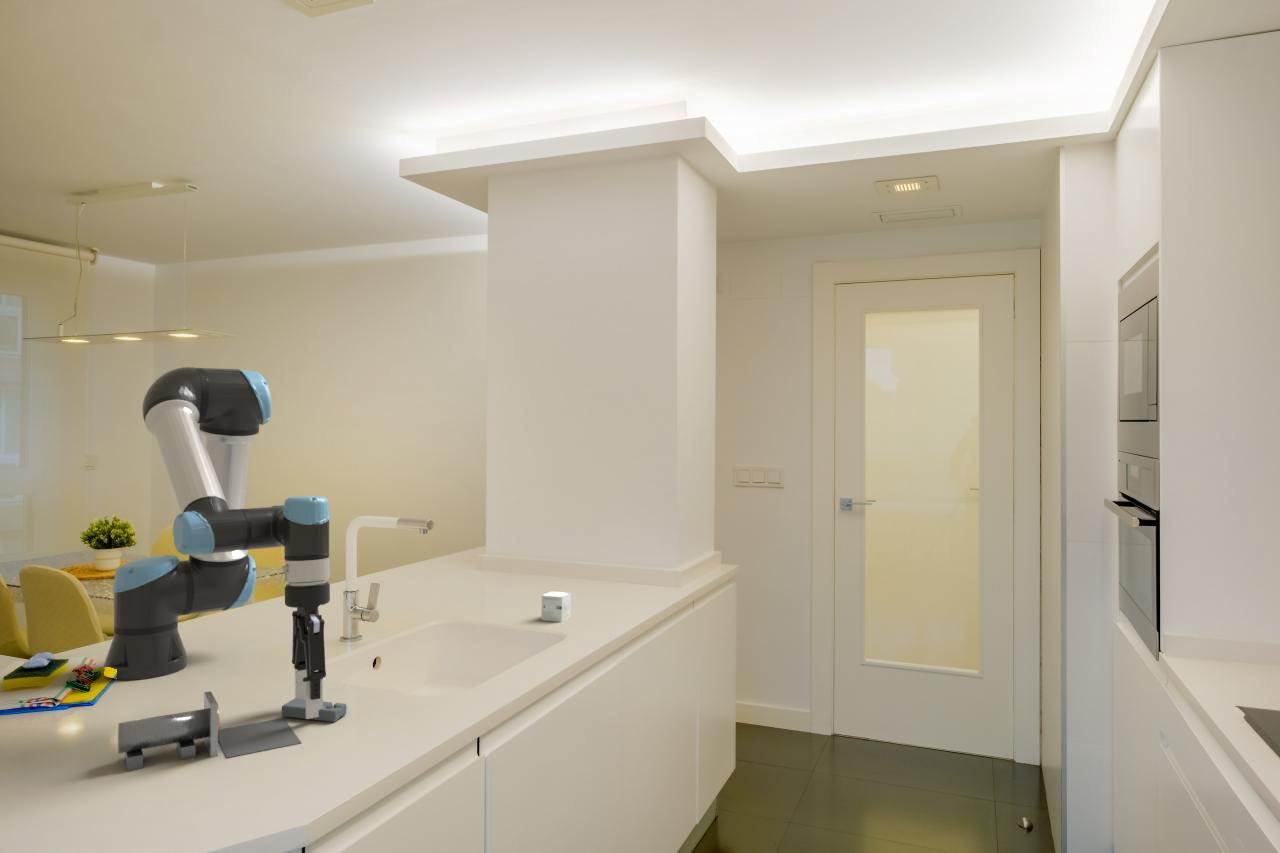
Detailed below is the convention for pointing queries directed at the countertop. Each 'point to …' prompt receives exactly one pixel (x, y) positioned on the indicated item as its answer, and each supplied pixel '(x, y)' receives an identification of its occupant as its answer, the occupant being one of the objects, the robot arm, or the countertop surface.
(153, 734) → the pipe fixture
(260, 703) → the countertop surface
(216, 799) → the countertop surface
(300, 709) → the bracket
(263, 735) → the mount pad
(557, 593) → the skincare box
